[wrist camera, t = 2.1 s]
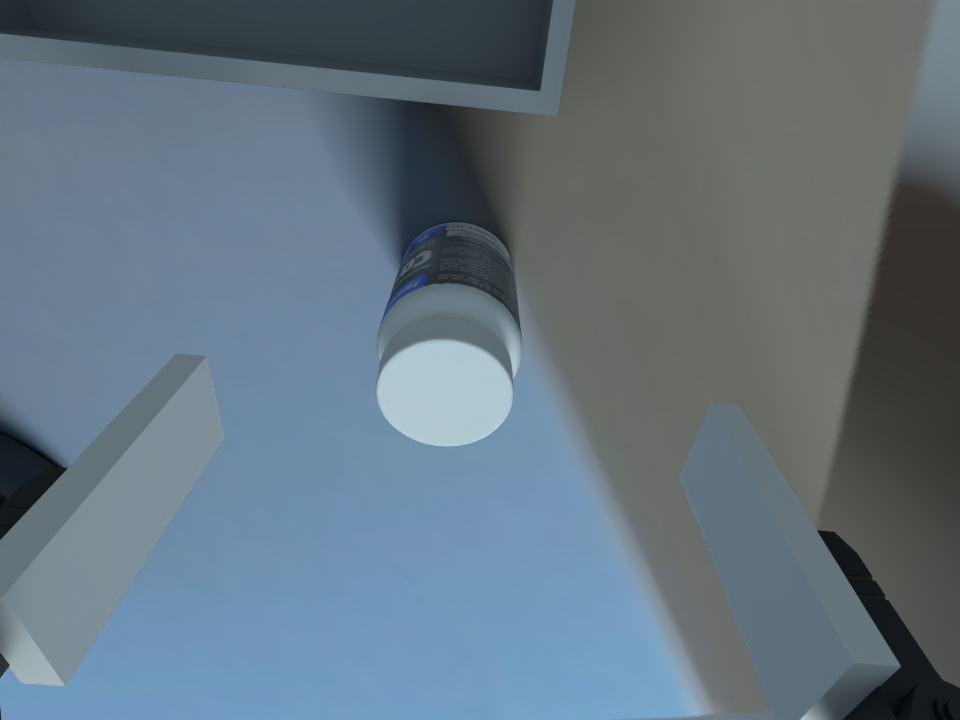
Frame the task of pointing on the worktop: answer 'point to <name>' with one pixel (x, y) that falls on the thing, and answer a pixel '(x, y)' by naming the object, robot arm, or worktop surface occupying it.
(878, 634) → the robot arm
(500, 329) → the pill bottle
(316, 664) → the worktop surface
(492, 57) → the grey tray
